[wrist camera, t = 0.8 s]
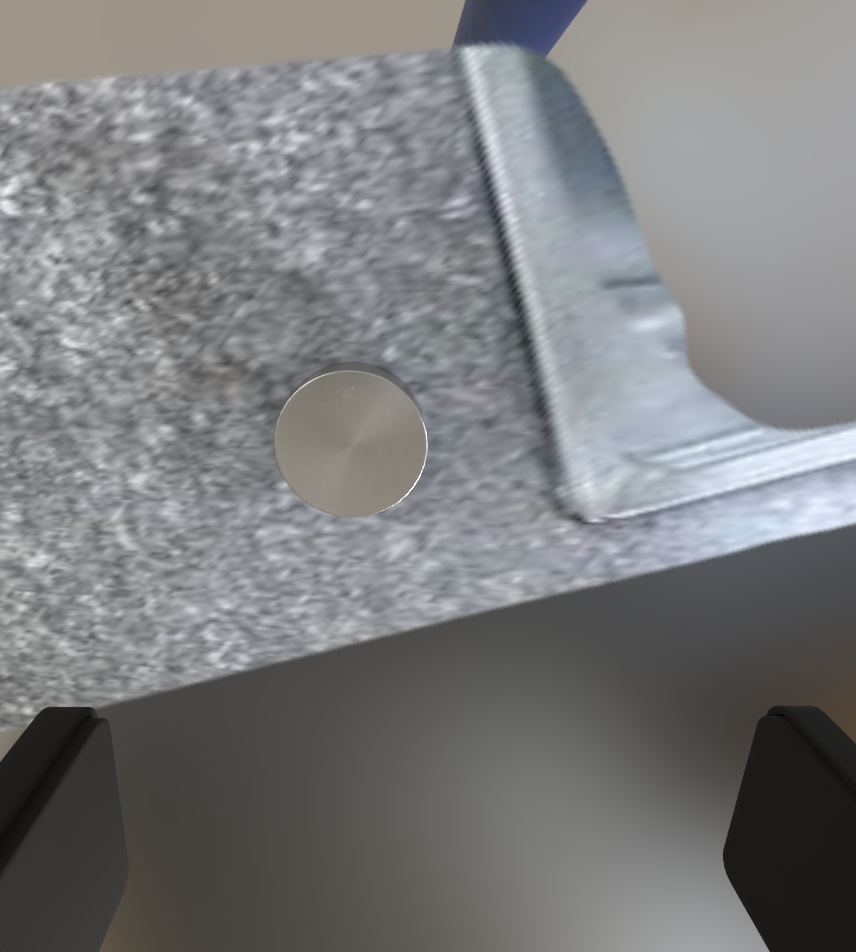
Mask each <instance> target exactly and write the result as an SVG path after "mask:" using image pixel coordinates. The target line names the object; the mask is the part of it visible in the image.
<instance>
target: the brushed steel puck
mask: <svg viewBox="0 0 856 952" xmlns="http://www.w3.org/2000/svg"><path fill="white" fill-rule="evenodd" d="M427 448H428V441H427V432H426V428H425V424H424V420H423V416H422V412H421V410H420V407H419V404H418V403H417V401H416V399H415V397H414V395H413V394H412V393H411V391H410V390H409V389H408V388H407V386H406V385H405V384H404V383H403V382H402V381H400V380H399V379H398V378H397V377H395V376H394V375H392V374H391V373H389V372H388V371H386V370H383V369H381V368H379V367H376V366H373V365H369V364H364V363H353V362H348V363H339V364H335V365H331V366H328V367H325V368H323V369H321V370H319V371H317V372H315V373H313V374H312V375H311V376H309V377H308V378H307V379H305V380H304V381H303V382H302V383H301V384H300V385H299V386H298V388H297V389H296V390H295V392H294V393H293V394H292V395H291V397H290V398H289V399H288V401H287V402H286V403H285V405H284V407H283V409H282V410H281V412H280V415H279V418H278V420H277V424H276V428H275V435H274V450H275V456H276V460H277V463H278V466H279V469H280V471H281V473H282V475H283V478H284V479H285V481H286V482H287V484H288V485H289V486H290V488H291V489H292V490H293V491H294V492H295V493H296V494H297V495H298V496H299V497H300V498H301V499H302V500H304V501H305V502H307V503H308V504H309V505H311V506H313V507H315V508H317V509H318V510H321V511H323V512H326V513H329V514H333V515H337V516H344V517H361V516H368V515H372V514H376V513H379V512H381V511H384V510H386V509H388V508H390V507H392V506H394V505H395V504H396V503H398V502H399V501H401V500H402V499H403V498H404V497H405V496H406V495H407V494H408V493H409V492H410V491H411V490H412V489H413V487H414V486H415V484H416V483H417V481H418V480H419V478H420V476H421V474H422V472H423V469H424V466H425V462H426V457H427Z"/></svg>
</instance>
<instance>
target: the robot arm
mask: <svg viewBox="0 0 856 952" xmlns="http://www.w3.org/2000/svg"><path fill="white" fill-rule="evenodd" d="M723 861H724V867H725V870H726V874H727V876H728V878H729V880H730V882H731V884H732V886H733V888H734V889H735V891H736V893H737V895H738V896H739V898H740V900H741V902H742V904H743V905H744V907H745V909H746V911H747V912H748V914H749V916H750V918H751V919H752V921H753V923H754V925H755V926H756V928H757V930H758V932H759V933H760V935H761V937H762V939H763V941H764V942H765V944H766V946H767V948H768V949H769V951H770V952H856V744H855V743H854V742H853V741H852V740H851V739H850V738H849V737H848V736H847V735H846V734H845V733H844V732H843V731H842V730H841V729H840V728H839V727H838V726H837V725H836V724H835V723H834V722H833V721H832V720H831V719H830V718H829V717H828V716H827V715H826V714H825V713H824V712H823V711H822V710H820V709H819V708H817V707H814V706H774V707H772V708H771V709H770V710H769V711H768V713H767V715H766V716H765V717H762V718H761V719H760V720H759V722H758V724H757V727H756V731H755V735H754V739H753V742H752V746H751V750H750V754H749V757H748V761H747V764H746V768H745V772H744V776H743V780H742V783H741V787H740V790H739V794H738V798H737V801H736V805H735V809H734V813H733V816H732V820H731V824H730V828H729V831H728V835H727V838H726V842H725V846H724V850H723ZM127 876H128V857H127V850H126V842H125V835H124V827H123V820H122V813H121V805H120V798H119V792H118V784H117V776H116V769H115V761H114V754H113V747H112V739H111V732H110V726H109V722H108V720H107V719H104V718H98V717H97V713H96V711H95V710H94V708H91V707H47V708H45V709H43V710H42V711H41V712H40V713H39V714H38V715H37V716H36V717H35V719H34V720H33V721H32V722H31V724H30V725H29V726H28V727H27V729H26V730H25V731H24V733H23V734H22V735H21V736H20V738H19V739H18V740H17V741H16V743H15V744H14V745H13V746H12V748H11V749H10V750H9V751H8V753H7V754H6V755H5V757H4V758H3V759H2V761H1V762H0V952H99V950H100V948H101V945H102V943H103V941H104V938H105V936H106V933H107V931H108V929H109V926H110V924H111V922H112V919H113V917H114V915H115V912H116V910H117V907H118V905H119V902H120V900H121V898H122V895H123V893H124V889H125V886H126V882H127Z"/></svg>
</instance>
